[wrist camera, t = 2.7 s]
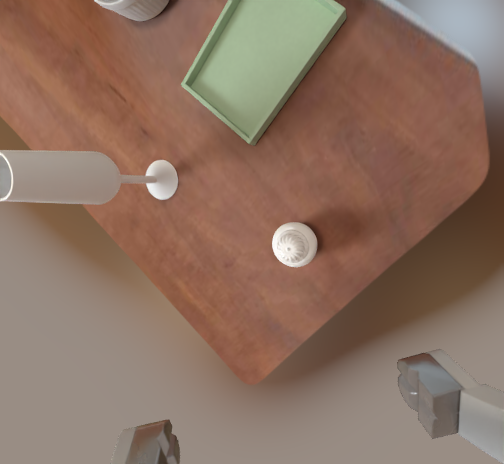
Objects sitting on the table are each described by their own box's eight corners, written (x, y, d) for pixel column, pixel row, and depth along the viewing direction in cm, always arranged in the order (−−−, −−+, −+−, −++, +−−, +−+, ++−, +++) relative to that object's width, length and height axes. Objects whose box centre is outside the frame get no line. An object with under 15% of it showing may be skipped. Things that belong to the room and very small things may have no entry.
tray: (263, -41, 39) (258, -53, 37) (346, 17, 36) (345, 8, 34) (188, 89, 45) (180, 84, 43) (254, 146, 43) (249, 144, 41)
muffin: (271, 237, 44) (254, 246, 38) (301, 210, 42) (289, 214, 35) (298, 269, 43) (286, 283, 37) (330, 243, 41) (323, 254, 34)
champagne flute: (166, 152, 48) (-1, 124, 26) (184, 188, 48) (30, 190, 26) (139, 172, 51) (-34, 162, 29) (156, 206, 51) (-6, 223, 29)
